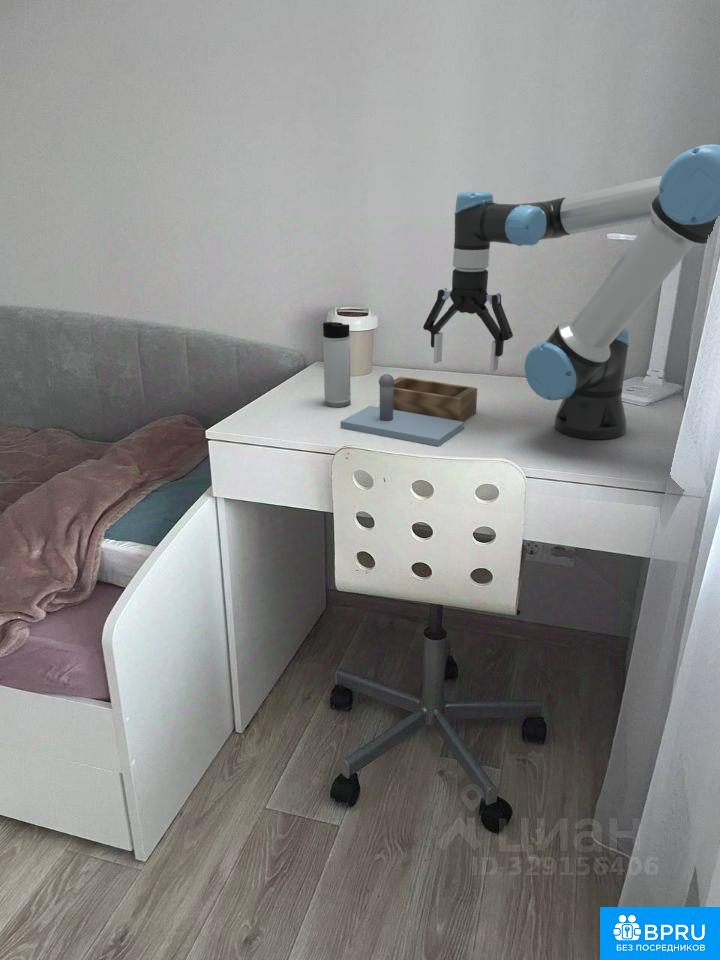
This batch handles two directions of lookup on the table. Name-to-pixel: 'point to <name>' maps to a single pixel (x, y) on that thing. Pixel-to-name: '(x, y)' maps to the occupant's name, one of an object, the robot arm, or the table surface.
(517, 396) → the table surface
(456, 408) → the wooden storage tray
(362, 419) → the plate
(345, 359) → the travel mug
